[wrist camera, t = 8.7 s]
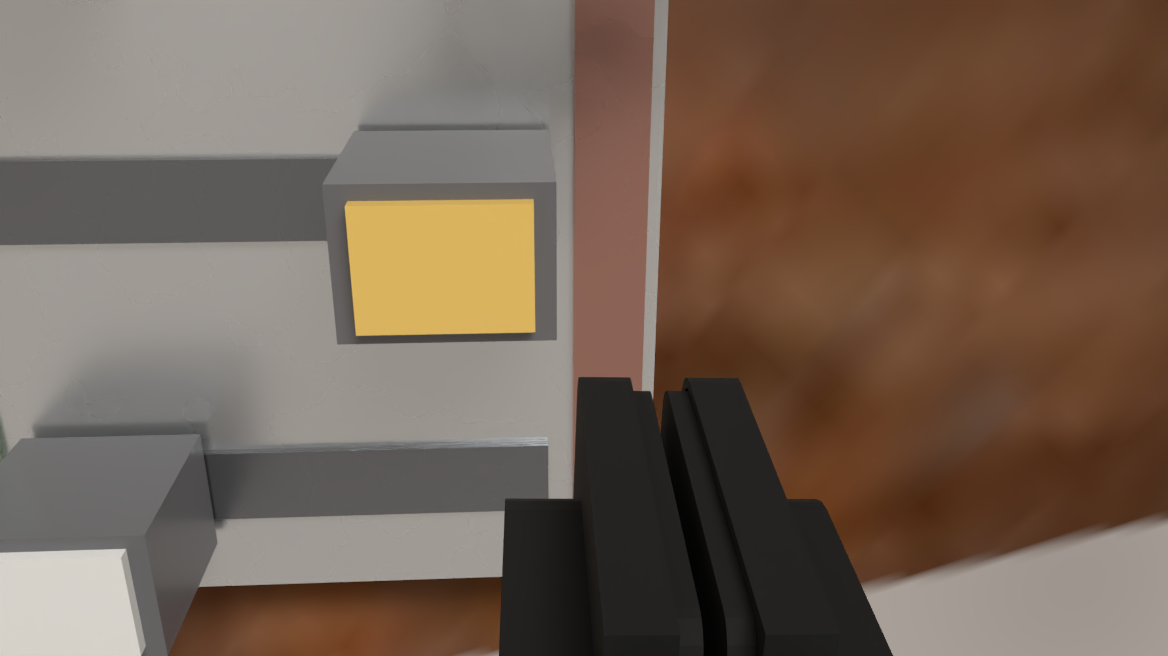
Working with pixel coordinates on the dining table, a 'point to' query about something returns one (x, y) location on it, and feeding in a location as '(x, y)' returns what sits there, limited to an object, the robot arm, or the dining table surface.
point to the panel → (313, 259)
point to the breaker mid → (443, 237)
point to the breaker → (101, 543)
